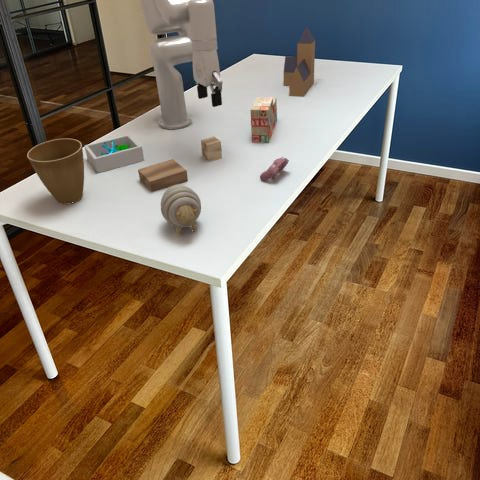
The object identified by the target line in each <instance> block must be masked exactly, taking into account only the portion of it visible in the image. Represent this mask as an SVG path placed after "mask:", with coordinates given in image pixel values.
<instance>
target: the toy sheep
mask: <svg viewBox="0 0 480 480" xmlns="http://www.w3.org/2000/svg"><path fill="white" fill-rule="evenodd" d="M201 212H202V202H201V198H200V197H199V195H198V194H197V193H196V192H195V191H194V190H193V189H192V188H190V187H188V186H185V185H184V184H177V185H174V186H171V187H168V188H166V190H165V191H164V192H163V194H162V198H161V200H160V213H161V216H162V218H163V219H164V220H165V221H166V222H167V223H168V224H169V225H171V226H172V227H175V232H176V235H177V236H181V235H182V234H183V233H182V228H188V227H189V228H190V229H191V231H192V230H193V231H192V232H196V231H197V224H196V222H197V220H198V218H199V217H200V215H201ZM195 230H196V231H195ZM181 233H182V234H181ZM180 234H181V235H180Z"/></svg>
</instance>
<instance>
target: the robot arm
mask: <svg viewBox="0 0 480 480" xmlns="http://www.w3.org/2000/svg"><path fill="white" fill-rule="evenodd" d="M139 2H140V5H141V8H142V9H141V10H142V13H143V17H144V20H145V24H146V28H147V30H148V32H149V33H150V34H152V35H155V36H157V35H165V34H171V33H177V34H178V35H174V36H167V37H166V36H165V37H161V38H157V39H154V40H153V41H152V42H151V43H150V44H149V48H148V52H149V56H150V59H151V60H150V61H151V63H152V66H153V69H154V74H155V80H156V86H157V92H158V99H159V104H160V105H159V106H160V110H161V111H160V112H161V117H162V118H161V119H160V120H159V121H158V124H159V127H160V128H162V129H165V130H179V129H184V128H186V127H189V126H190V125H191V123H192V118H191V116H188V115H187V114H188V113H187V108H186V107H187V106H186V99H185V98H186V97H185V90H184V83H183V77H182V74H181V73H180V72H179V71H178V69H176V68H175V67H174V66H177V65H180V64H186V63H191V62H192V75H193V80H194V82H195V85H196V90H197V98H198V99H199V100H201V99H205V98H208V97H209V96H208V88H209V89H210V91H211V93H210V98H211V106H212V107H214V108H215V107H219V106H222V105H223V101H222V100H223V98H222V91H223V83H224V82H223V80H222V78H221V70H220V63H219V57H218V51H217V50H218V40H217V39H218V37H217V26H216V14H215V4H214V0H139Z"/></svg>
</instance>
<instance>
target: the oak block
mask: <svg viewBox="0 0 480 480" xmlns="http://www.w3.org/2000/svg"><path fill="white" fill-rule="evenodd" d="M200 148H201V149H200V150H201V156H202V158H203V159H205V161H207V162H212V161H216V160H220V159H223V150H222V141H221V140H220V139H218V138H217V137H216V136H211V137H207V138H203V139H200Z"/></svg>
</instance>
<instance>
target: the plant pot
mask: <svg viewBox="0 0 480 480" xmlns="http://www.w3.org/2000/svg"><path fill="white" fill-rule="evenodd" d="M26 156H27V159H28V161H29V163H30V164H31V166H32V168H33V170H34V172H35V173H36V175H37V176H38V178H39V180H40V182H41V183H42V184H43V186H44V187H45V188H46V190H47V191H48V192H49V194H51V196H52V197H53V198H54V199H55V201H57V203H58V204H60V203H63V204H62V205H69V204H68V203H71V204H73V203H72V202H74V203H77V202H79V201H80V200H81V199H82V198H83V194H84V185H85V159H84V151H83V144H82V142H81V141H79V140H78V139H74V138H66V137H65V138H56V139H52V140H48V141H44V142H41V143H38V144H37V145H35V146H34V147H32V148H30V150H28V152H27V154H26ZM79 199H80V200H79ZM78 200H79V201H78ZM76 201H77V202H76Z"/></svg>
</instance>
